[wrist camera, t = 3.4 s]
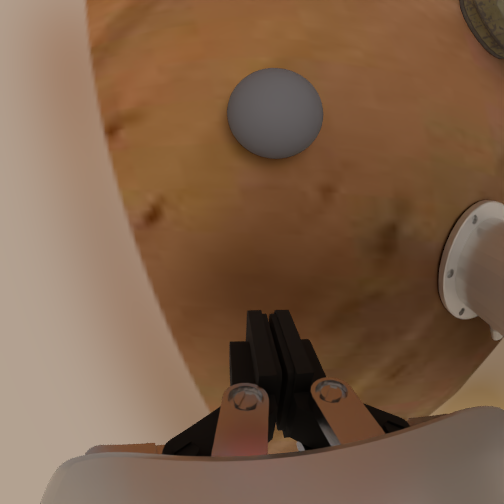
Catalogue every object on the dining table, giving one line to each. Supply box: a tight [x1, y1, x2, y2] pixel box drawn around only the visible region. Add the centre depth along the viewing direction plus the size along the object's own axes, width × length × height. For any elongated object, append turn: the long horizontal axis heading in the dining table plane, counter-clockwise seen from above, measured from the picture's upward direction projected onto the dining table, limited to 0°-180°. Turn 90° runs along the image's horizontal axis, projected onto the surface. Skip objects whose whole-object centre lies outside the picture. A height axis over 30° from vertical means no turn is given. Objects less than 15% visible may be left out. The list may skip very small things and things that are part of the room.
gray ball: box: [227, 68, 323, 159], centre depth 16 cm, size 6×6×6 cm
